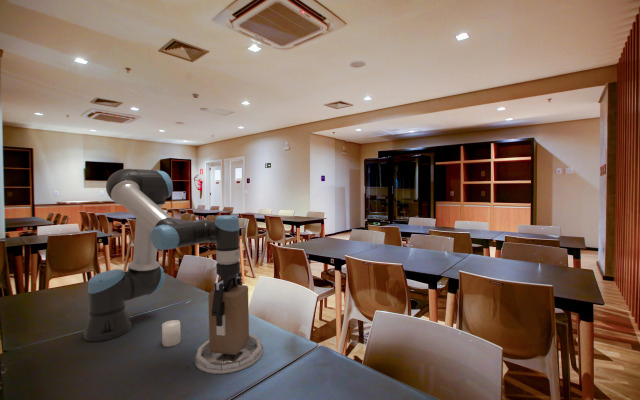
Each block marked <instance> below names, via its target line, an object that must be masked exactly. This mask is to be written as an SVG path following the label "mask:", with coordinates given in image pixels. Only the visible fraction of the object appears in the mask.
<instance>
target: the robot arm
mask: <svg viewBox="0 0 640 400" xmlns="http://www.w3.org/2000/svg"><path fill="white" fill-rule="evenodd" d="M105 183H106V184H105V191H106V193H107V195H108V197H109V199H110V200H111V201H112V202H113V203H115V204H117V205H120V206H121V205H122V207H124V208H125V210H127V211H128V212H129V213H130V214H131V215H132V216H134V218H135V228H134V229H135V230H134V242H133V243H134V244H133V257H132V261H131V262H130V263H129V264H128V266H127V267H128V268H127V271H124V270H123V269H121V268H120V269H117V268H116V269H112V270H111V269H110V270H106V271H103V272H99V273H97V274H95V275H93V276H92V277H91V278H89V280H88V283H87V284H88V286H87V287H88V288H87V294H88V295H87V297H88V314H89V315H88V319H87V323H86V326H85V328H84V331H83V339H84V340H85V341H87V342H103V341H107V340H111V339H115V338H119V337H120V336H123V335H125V334H126V333H127V332H129V331H130V330H131V328H132V322H131V321H132V320H131V319H130V317H129V314H128V313H127V309H126V302H127V301H130V300H134V299H137V298H140V297H144V296H149V295H151V294H153V293H156V292H158V291H160V290H161V288H162V287H163V286H164V283H165V279H166V276H165V271H164V268H163V266H161V265H160V262H159V261H157V253H158V250H159V251H163V250H174V249H178V248H183V247H188V246H193V245H198V244H199V245H200V244H204V243H213V244H215V262H216V275H218V276H219V281H218V282H214V284H213V288H214V289H213V290H214V298H213V306H212V314H211V315H212V316H216V327H217V335H222V336H225V335H226V330H225V315H224V310H225V303H224V302H222V298H223V292H229V291H230V290H231V289H232V288H233V287H234V286H235V287H237V286H238V285H243V280H242V273H241V262H240V255H241V252H240V229H241V228H240V222H239V217H238V216H237V215H233V214H232V215H228V214H224V215H218V216H216V217H215V220H208V219H197V220H194V221H190V222H189V221H188V222H187V221H186V222H178V221H177V220H176V219H174V218H173V217H172V216H171V215H169V214H168V213H167V212H166V211H165V210H164V209H162V207H163V206H164V205H166V199H168V198H170V197H172V195H173V192H174V187H173V180H172V179H171V177H170V175H169V174H168V173H167V172H165V171H163V170H158V169H142V168H141V169H140V168H138V169H137V168H123V169H119V170H117V171H115V172H114V173H112V174H111V175H110V176H109V177H108V179H107V181H106V182H105ZM223 290H226V291H223Z"/></svg>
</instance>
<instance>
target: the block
mask: <svg viewBox="0 0 640 400" xmlns="http://www.w3.org/2000/svg"><path fill="white" fill-rule="evenodd" d="M223 291H226V290H223ZM213 298H214V289H212V290H211V291H209V292H208V298H207V299H208V333H209V335H208V336H209V337H208V340H209V344H210V352H213V353H222V354H231V355H236V354H238V353H239V352H240V350H241V349H242V348H243V347H244V346H245V345H246V343H247V342H248V341H249V334H250V328H249V327H250V322H249V321H250V319H249V318H250V317H249V315H250V313H249V286H248V285H245V284H244V285H243V284H242V285H238V286H237V287H235V286H234V287H233V288H232V289H231V290H230V291H229V292H223V298H222V302H224V303H225V310H224V315H225V330H226V335H225V336H222V335H217V327H216V316H212V315H211V314H212V306H213Z"/></svg>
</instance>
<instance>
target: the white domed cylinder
mask: <svg viewBox="0 0 640 400" xmlns="http://www.w3.org/2000/svg"><path fill="white" fill-rule="evenodd" d="M181 337H182V336H181V320H178V319H172V320H167V321H164V322H163V323H162V324H161V339H162V342H161V343H162V346H163V347H166V348H169V347H174V346H177V345H179V344H180V343H181V342H182V341H181Z"/></svg>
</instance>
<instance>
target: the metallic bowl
mask: <svg viewBox="0 0 640 400" xmlns="http://www.w3.org/2000/svg"><path fill="white" fill-rule="evenodd" d="M263 353H264V346H263V344H262V343H261V339H260V338H259V337H257V336H256V335H254V334H251V333H249V341H248V342H247V343H246V345H245V346H244V347H243V348H242V349H241V350H240V352H239V353H238V354H236V355H231V354H222V353H213V352H210V344H209V339H207V340H206V341H205V342H203V344H201V345H200V346H199V347H198V348H197V352H196V354H195V356H194V365H195V367H197V369H198V370H200V371H201V372H204V373H206V374H211V375H228V374H232V373H237V372H240V371H243V370H245V369H248V368H250V367H251V366H253V365H255V364H256V363H257V362H258V361H259V360H260V359H261V358H262V356H263Z"/></svg>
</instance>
